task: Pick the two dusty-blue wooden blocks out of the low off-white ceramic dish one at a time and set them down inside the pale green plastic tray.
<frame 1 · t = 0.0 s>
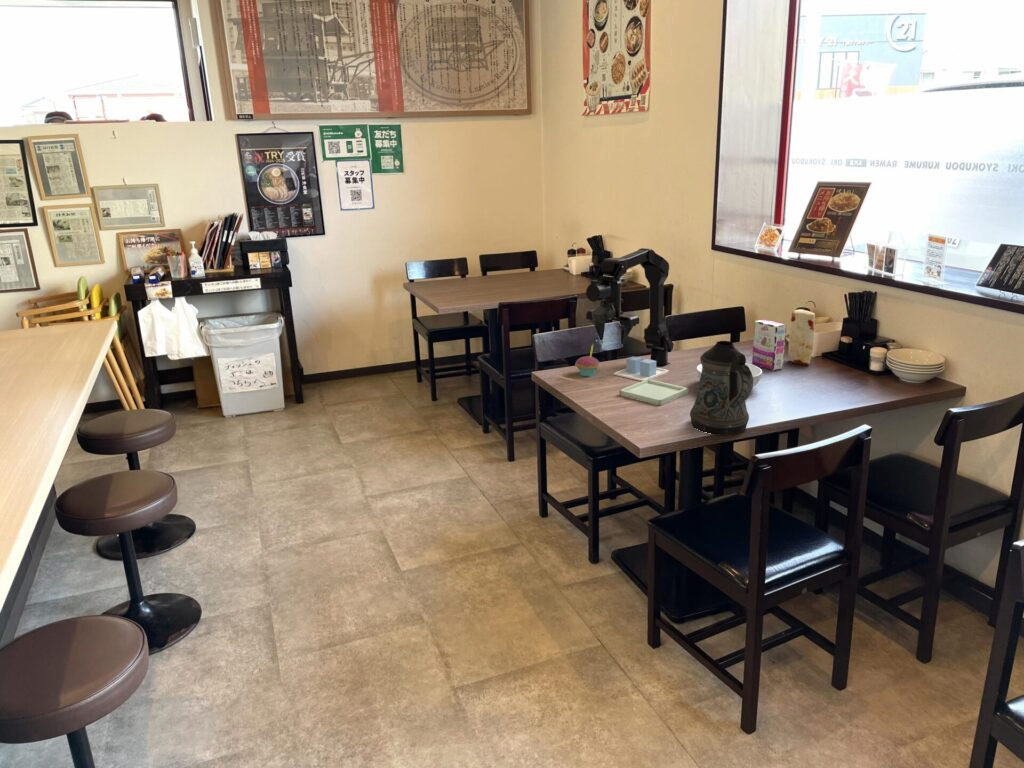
hand: (611, 342, 254), 15 cm above the table, tool pointing down, fingers open, 9 cm apart
block b: (648, 374, 265), point 1 cm above the table, touching dish
beer stein: (723, 427, 217), on the table
candy bar box: (767, 367, 272), on the table
block a: (634, 371, 269), point 1 cm above the table, touching dish
tray: (653, 394, 246), on the table
food model: (799, 363, 274), on the table
cupcake: (587, 376, 268), on the table
serving bowl: (727, 389, 250), on the table
dish: (641, 374, 267), on the table
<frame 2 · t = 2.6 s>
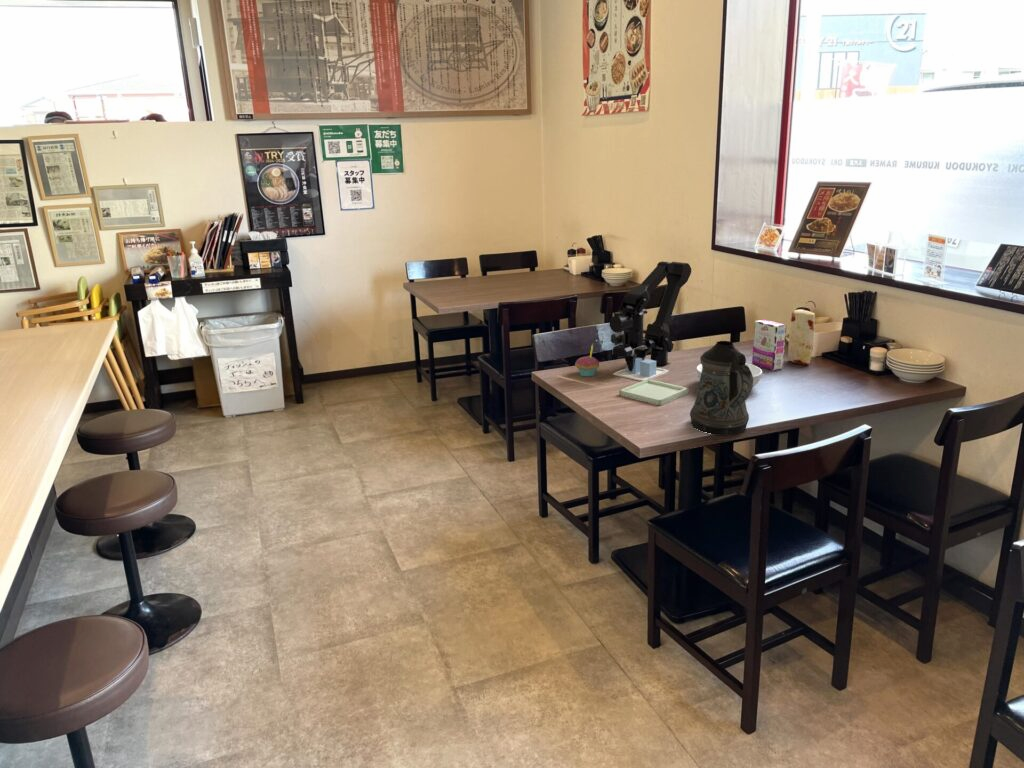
hand: (634, 369, 269), 1 cm above the table, tool pointing down, fingers closed on block a, 4 cm apart
block a: (634, 371, 269), point 1 cm above the table, touching dish, gripper
everything else where it was.
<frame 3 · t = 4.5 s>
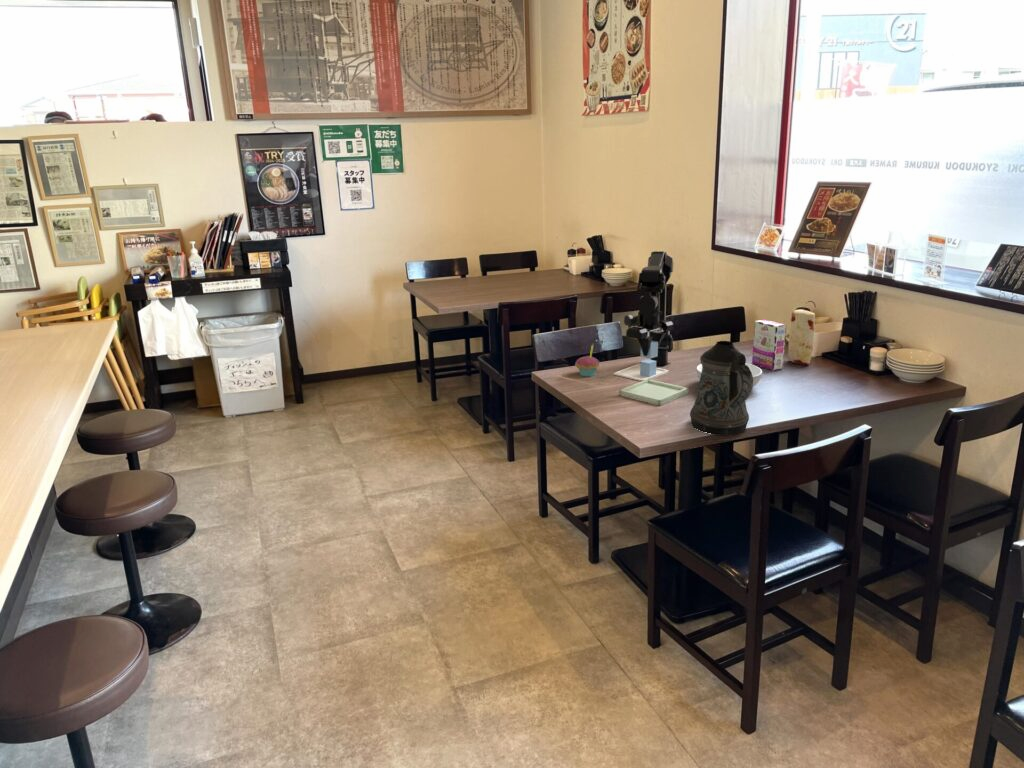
hand: (649, 354, 248), 12 cm above the table, tool pointing down, fingers closed on block a, 4 cm apart
block a: (649, 356, 248), point 11 cm above the table, touching gripper
everything else where it was.
when the fingers open (3 cm above the table, at t = 6.5 s): block a drops 2 cm, resting on tray.
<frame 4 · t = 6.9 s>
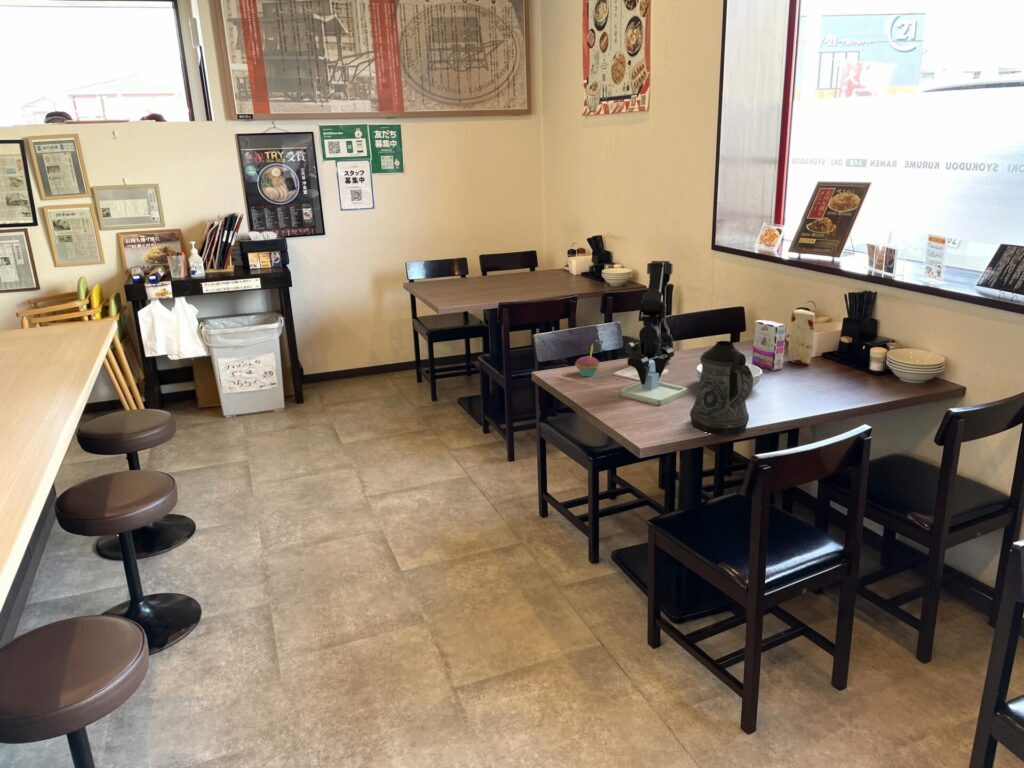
hand: (650, 381, 250), 3 cm above the table, tool pointing down, fingers open, 8 cm apart
block a: (650, 387, 250), point 1 cm above the table, touching tray
everything else where it was.
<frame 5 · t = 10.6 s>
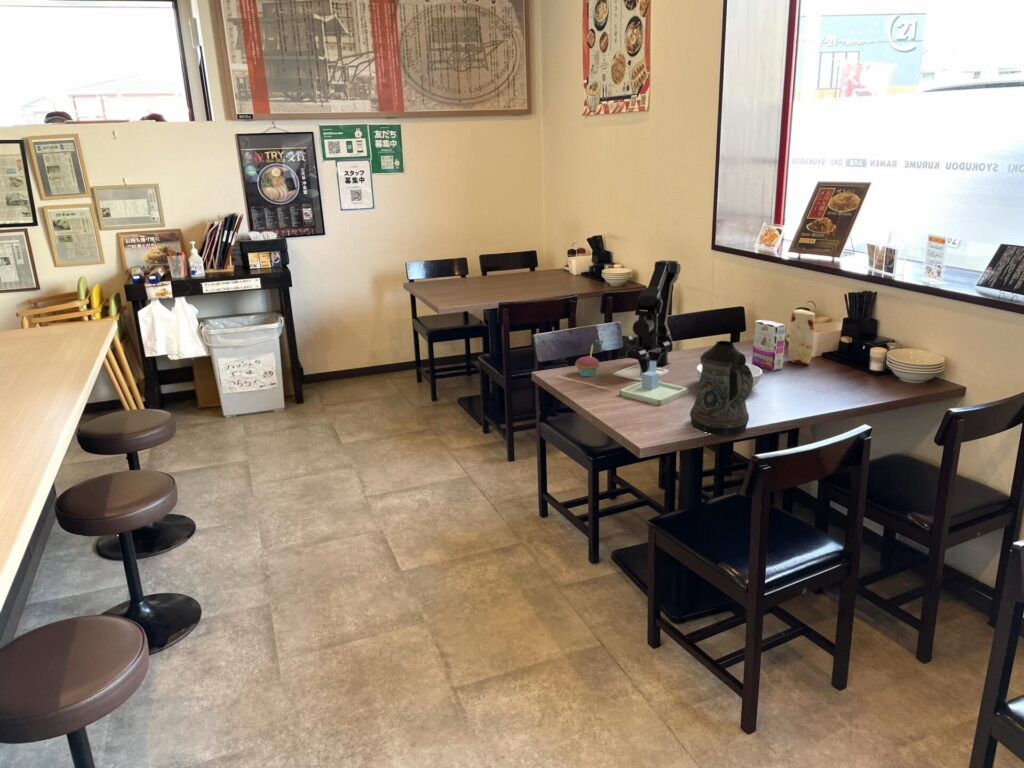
hand: (648, 372, 264), 1 cm above the table, tool pointing down, fingers closed on block b, 4 cm apart
block b: (648, 374, 265), point 1 cm above the table, touching dish, gripper
everything else where it was.
when the fingers open (3 cm above the table, at t = 14.5 s): block b drops 2 cm, resting on tray.
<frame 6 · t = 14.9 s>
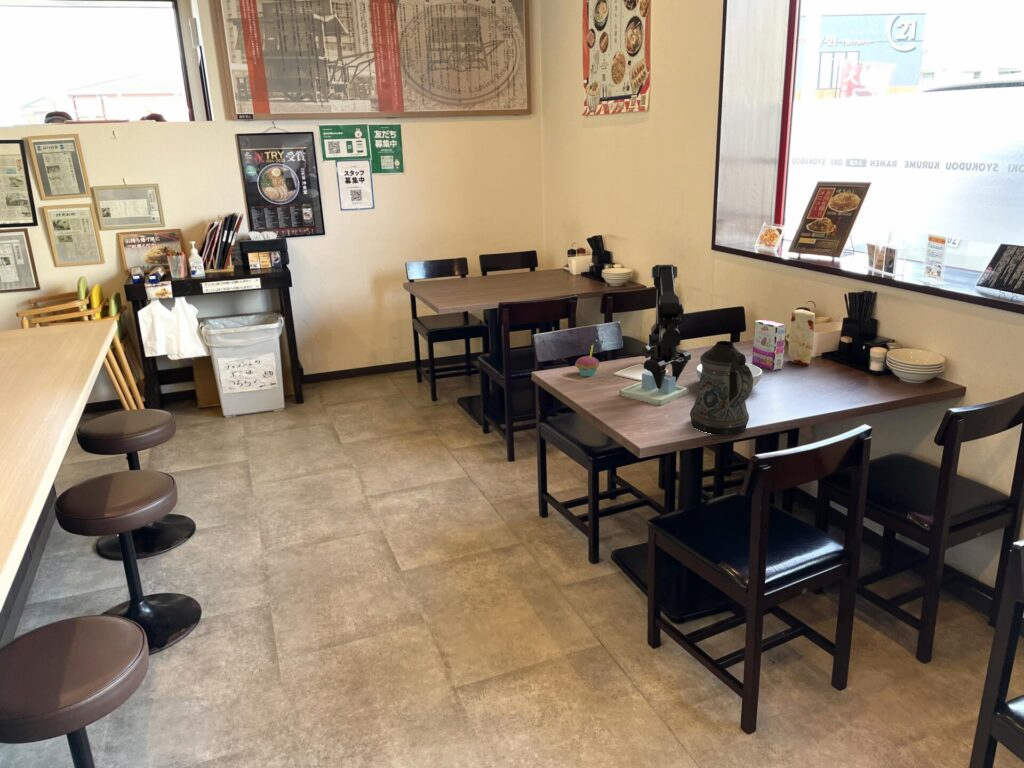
hand: (666, 385, 245), 3 cm above the table, tool pointing down, fingers open, 9 cm apart
block b: (666, 391, 246), point 1 cm above the table, touching tray
everything else where it was.
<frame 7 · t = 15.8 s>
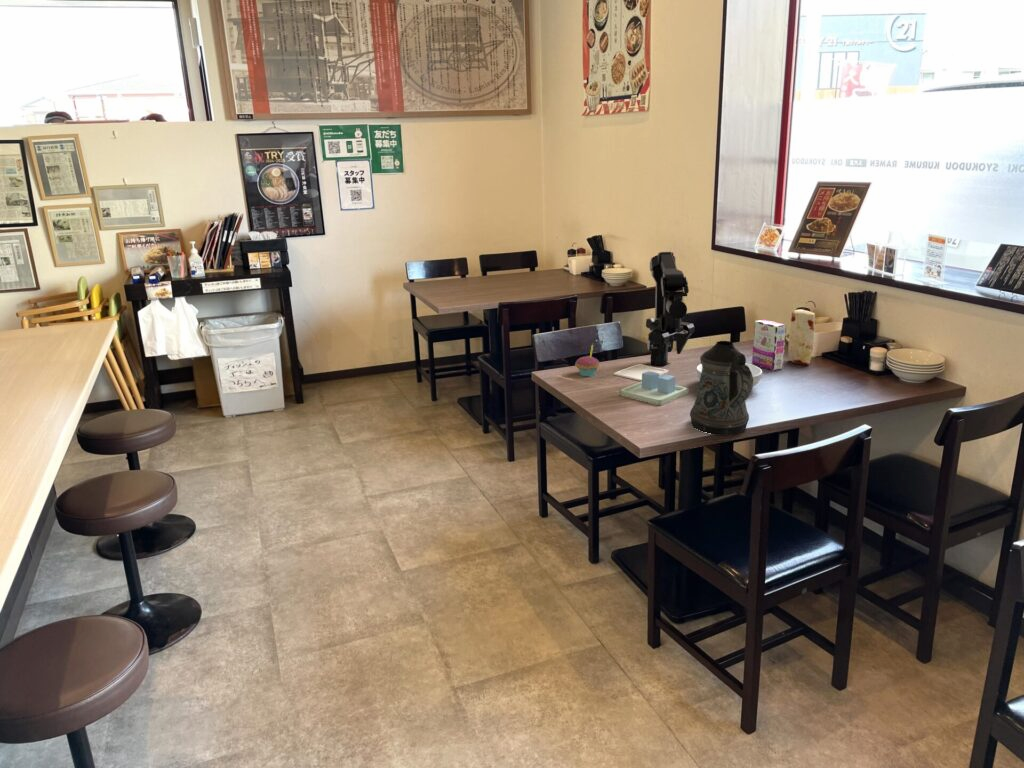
hand: (670, 356, 251), 10 cm above the table, tool pointing down, fingers open, 9 cm apart
nothing on the table moved.
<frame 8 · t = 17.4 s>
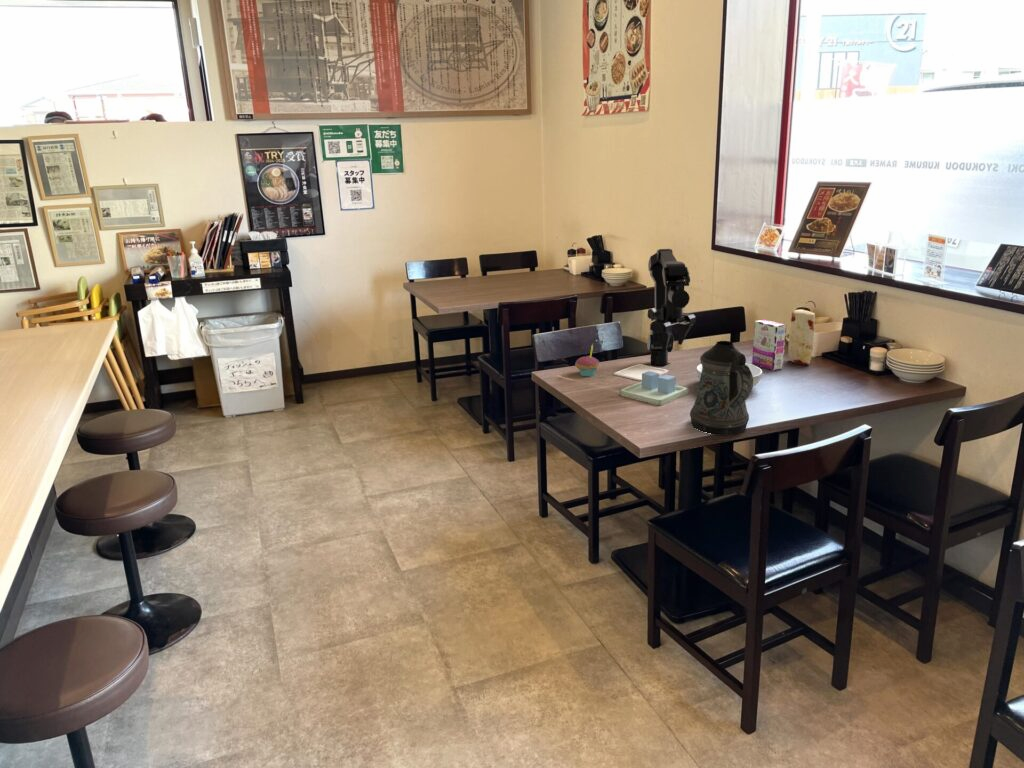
hand: (672, 347, 252), 13 cm above the table, tool pointing down, fingers open, 9 cm apart
nothing on the table moved.
at the end: block a inside the target area on the tray (4.7 cm from its centre), point 0.8 cm above the tray's base; block b inside the target area on the tray (4.2 cm from its centre), point 0.8 cm above the tray's base; the gripper is holding nothing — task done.
